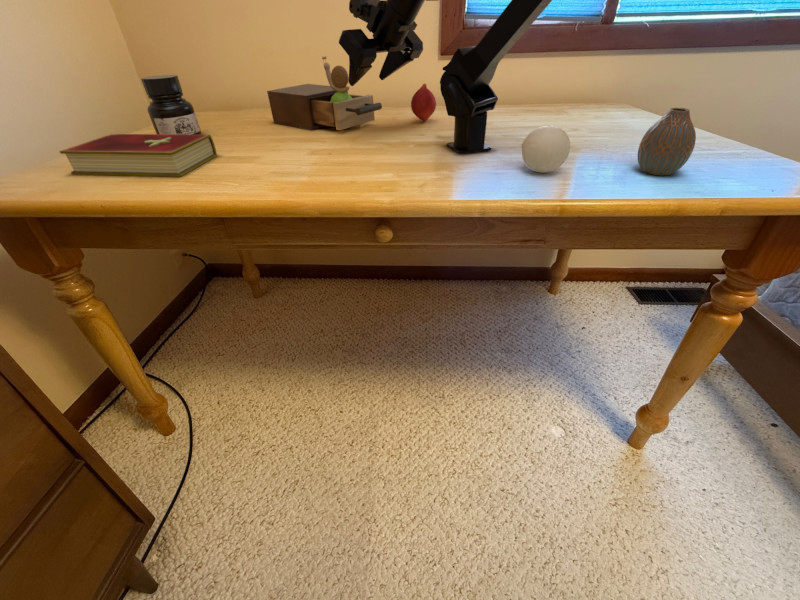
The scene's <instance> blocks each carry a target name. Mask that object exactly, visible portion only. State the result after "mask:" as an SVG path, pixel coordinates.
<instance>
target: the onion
mask: <svg viewBox="0 0 800 600" xmlns="http://www.w3.org/2000/svg"><path fill="white" fill-rule="evenodd" d="M410 107H411V112H412V113H413V114H414V115H415V117H416V118H417V119H419V120H420V121H421V122H426V121H428V119H429V118H430V117H431V116H432V115H433V114H434V113H435V111H436V108H437V100H436V97H435V95H434V94H433V92H432V91H431V89H429V88H428V86H427V83H423V84H422V85H421V87H419V88H418V89H417V91H415V93H414V94H413V96H412V97H411V101H410Z"/></svg>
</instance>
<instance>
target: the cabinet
mask: <svg viewBox="0 0 800 600" xmlns="http://www.w3.org/2000/svg"><path fill="white" fill-rule="evenodd" d="M335 93H337V92H336V91H335V90H333V89H332V88H331V86H330V85H323V84H313V83H305V84H300V85H293V86H288V87H282V88H276V89H271V90H270V89H269V90H267V91H266V94H267V97H268V102H269V107H270V111H271V115H272V120H273V123H274V124H278V125H283V126H289V127H292V128H293V127H294V128H299V129H304V130H308V131H314V130H318V129H321V128H325V127H328V126H327V125H321V124H316V123H313V116H312V110H311V103H310V99H314V98H318V97H323V96H328V95H333V94H335ZM346 93H348V94H349V91H347V92H346Z"/></svg>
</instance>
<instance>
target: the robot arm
mask: <svg viewBox="0 0 800 600" xmlns="http://www.w3.org/2000/svg"><path fill="white" fill-rule="evenodd" d="M426 1H427V2H438V1H439V0H349V2H348V4H349V6H348V10H349V13H350V14H352V16H353V17H354V18H355V19H359V20H361V21H363V22H365V23H366V26H365V28H366V29H367V31H368V32H369V33H372V38H369V37H368V36H367V35H366V33H365V32H364V31H363V30H362V29H361V28H355V29H343V30H342V31H341V33H340V36H339V39H338V44H339V45H340V47H341V48H342V49H343V50H344V51H345V53H346V54H347V55H348V62H349V63H348V64H349V66H348V77H349V81H348V84H349V85H350V86H351V87H353V86H355V85H357V84H358V82H359V81H360V80H361V79H362V78H363V77H364V76H365V75H366V74H367V73H368V72H369V71H370V70H371V69H372V68H373V65H372V64H373V63H374V62H375V61H376V59H377V57H378V54H380V53H387V54H386V55H385V59H384V61H383V63H382V66H381V69H380V71H379V75H378V79H380V81H384V80H385V79H387V78H388V77H390V76H392V75H393V74H394V73H395V72H398V71H399V70H400V69H402V68H403V67H405V66H406V65H408V64H410V63H411V62H414V60H415V59H419V58H420V57H421V55H422V53H423V51H424V42H423V40H421V38H420V37H419V35H418V34H417V32H415V30H416V29H417V27H418V23H417V22H416V21H415V20H416V18H417V16H419V15H418V14H419V13H420V11H421V10H422V7H423V6H424V4H425V2H426ZM552 2H553V0H511V1H510V2H509V3H508V4H507V5H506V7H505V8H504V9H503V11H502V12H501V13H500V14H499V16H498V17H497V18H496V20H495V21H494V23H493V24H492V25H491V26H490V28H489V29H488V30H487V32H486V33H485V34H484V35H483V37H482V38H481V39H480V41H479V42H478V43H477V44H476V45H473V46H466V47H461V48H460V47H459V48H457V49H456V50H455V52H454V54H453V55H452V57H451V59H450V61H449V62H448V63H447V64H446V65H445V66H443V67H442V69H441V70H442V71H444V72H443V73H442V75H441V77H440V79H439V85H440V88H439V89H440V93H441V96H442V98H443V101H444V105H445V109H446V114H447V116H448V117H453V118H454V129H453V141H450V142H446V147H448V148H450V149H451V150H453V151H454V152H456V153H457V154H460V155H463V154H471V153H472V154H473V153H479V152H487V151H492V148H493V147H492V146H490V145H489V144H487V143H485V142H486V133H487V123H488V122H487V121H488V112H489V111H493V110H494V109H495V108H496V105H497V103H498V100H499V97H498V96H497V94H496V93H495V91H494V90H493V88H492V87H491V85H490V84H491V82H492V80H493V78H494V76H495V74H496V70H497V68H498V65H499V64H500V62H501V60H502V59H504V57H505V56H506V55H507V54H508V53H509V52H510V50H511V49H512V48H513V47H514V46H515V44H516V43H517V42H518V41H519V39H521V37H522V36H523V35H524V34H525V33H526V32H527V31H528V29H529V28H530V27H531V26H532V24H533V23H535V21H536V20H537V19H538V17H539V16H541V14H543V12H544V11H545V9H546V8H547V7H548V6H549V5H550V4H551V3H552Z"/></svg>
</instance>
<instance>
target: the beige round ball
mask: <svg viewBox="0 0 800 600" xmlns="http://www.w3.org/2000/svg"><path fill="white" fill-rule="evenodd" d="M570 151H571V141H570V137H569V135H568V133H567V132H566V131H565V130H564V129H563V128H561V127H559V126H556V125H542V126H539V127H537V128H535V129H533V130H532V131H530V132H529V133H528V135H526V137H525V138H524V140H523V141H522V143H521V157H522V160H523V162H524V164H525V166H526V167H527V168H529V170H531V171H533V172H536V173H541V174H542V173H543V174H544V173H551V172H553V171H556V170H557V169H559V168H561V167H562V166H563V165H564V164H565V162H566V161H567V159H568V157H569V154H570Z"/></svg>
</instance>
